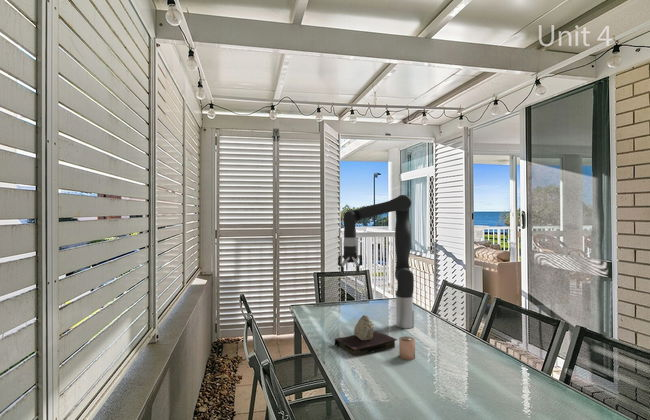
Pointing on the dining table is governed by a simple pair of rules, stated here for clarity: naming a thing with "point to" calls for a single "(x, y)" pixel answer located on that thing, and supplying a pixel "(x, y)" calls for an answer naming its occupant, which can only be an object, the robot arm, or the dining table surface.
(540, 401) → the dining table surface
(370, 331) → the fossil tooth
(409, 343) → the peach glossy cylinder
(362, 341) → the diary
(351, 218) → the robot arm
